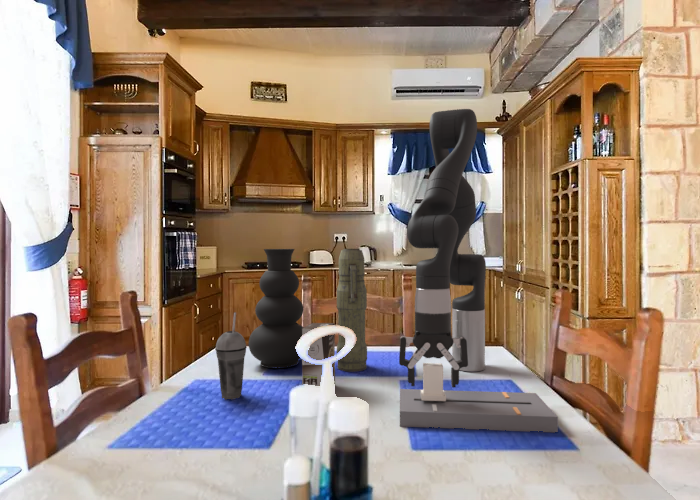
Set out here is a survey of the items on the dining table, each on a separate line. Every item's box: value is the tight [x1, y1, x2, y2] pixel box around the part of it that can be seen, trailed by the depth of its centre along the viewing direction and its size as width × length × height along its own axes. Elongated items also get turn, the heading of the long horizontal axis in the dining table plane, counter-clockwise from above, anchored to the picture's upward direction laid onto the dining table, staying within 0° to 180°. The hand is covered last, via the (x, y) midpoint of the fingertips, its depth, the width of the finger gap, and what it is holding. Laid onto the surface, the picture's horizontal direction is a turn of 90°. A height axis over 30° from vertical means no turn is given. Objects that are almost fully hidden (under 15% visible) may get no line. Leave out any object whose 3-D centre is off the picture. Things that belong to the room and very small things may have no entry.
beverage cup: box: [214, 312, 248, 400], centre depth 108 cm, size 7×7×20 cm
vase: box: [248, 248, 305, 369], centre depth 136 cm, size 18×18×35 cm
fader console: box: [399, 388, 559, 433], centre depth 95 cm, size 14×30×3 cm, turn 84°
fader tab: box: [420, 362, 446, 401], centre depth 95 cm, size 4×5×7 cm
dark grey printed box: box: [301, 322, 336, 386], centre depth 112 cm, size 9×6×16 cm
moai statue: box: [336, 248, 368, 373], centre depth 132 cm, size 9×12×35 cm
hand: (432, 385), depth 95 cm, fingers open, 8 cm apart
